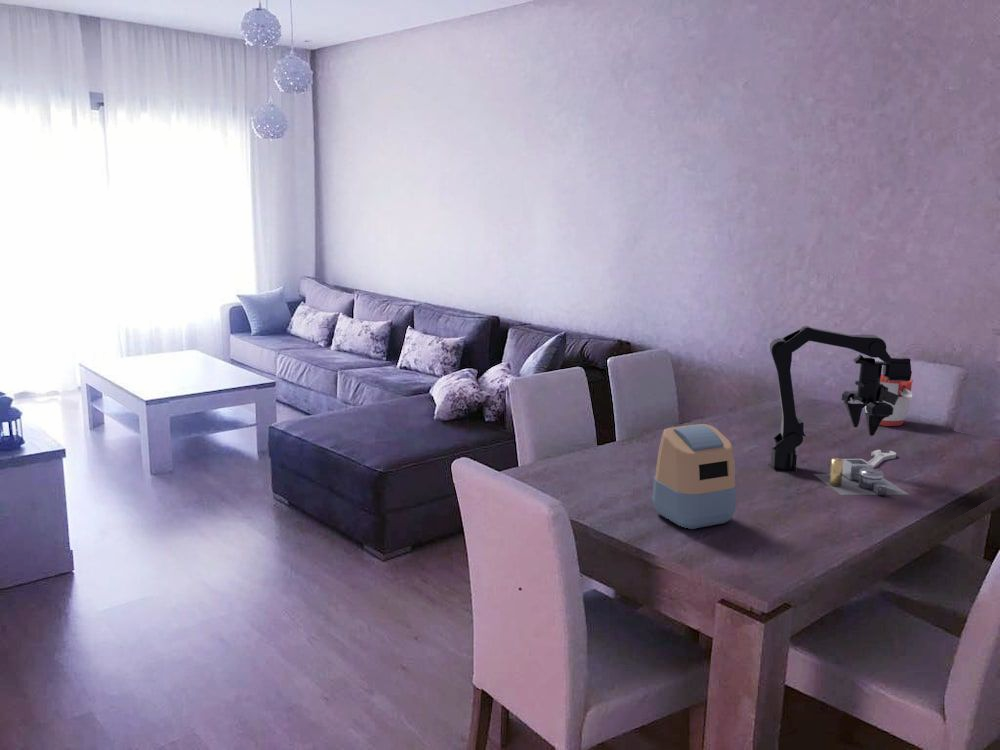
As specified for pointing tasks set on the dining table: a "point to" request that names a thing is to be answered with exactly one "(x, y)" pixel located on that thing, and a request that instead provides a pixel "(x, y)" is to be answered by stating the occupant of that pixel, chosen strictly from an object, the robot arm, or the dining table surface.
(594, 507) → the dining table surface
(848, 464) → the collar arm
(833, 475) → the brass rounded cylinder
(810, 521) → the dining table surface
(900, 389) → the citrus juicer
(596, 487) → the dining table surface
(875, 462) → the adjustable wrench
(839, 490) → the mat
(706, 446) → the alarm clock
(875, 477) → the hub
